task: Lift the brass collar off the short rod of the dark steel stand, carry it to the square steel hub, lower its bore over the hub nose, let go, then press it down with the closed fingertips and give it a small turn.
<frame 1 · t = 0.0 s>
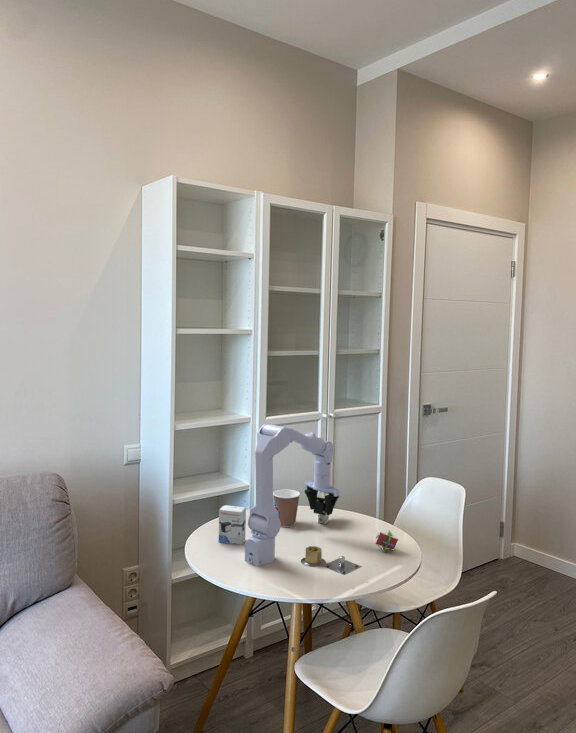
hand: (321, 511, 213), 10 cm above the table, tool pointing down, fingers open, 7 cm apart
stand: (313, 564, 192), on the table
coffee cup: (285, 524, 228), on the table
brass collar: (313, 561, 192), point 1 cm above the table, touching stand
geometric puzzle: (386, 551, 205), on the table
ink box: (231, 541, 210), on the table
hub: (341, 569, 189), on the table
pneumatic valve: (324, 523, 231), on the table
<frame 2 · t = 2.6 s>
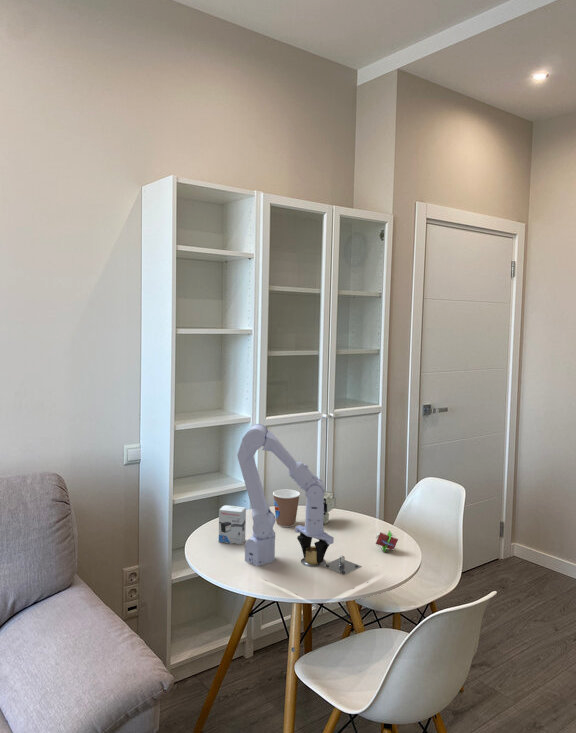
hand: (313, 559, 192), 2 cm above the table, tool pointing down, fingers closed on brass collar, 5 cm apart
brass collar: (313, 561, 192), point 1 cm above the table, touching gripper, stand
everything else where it was.
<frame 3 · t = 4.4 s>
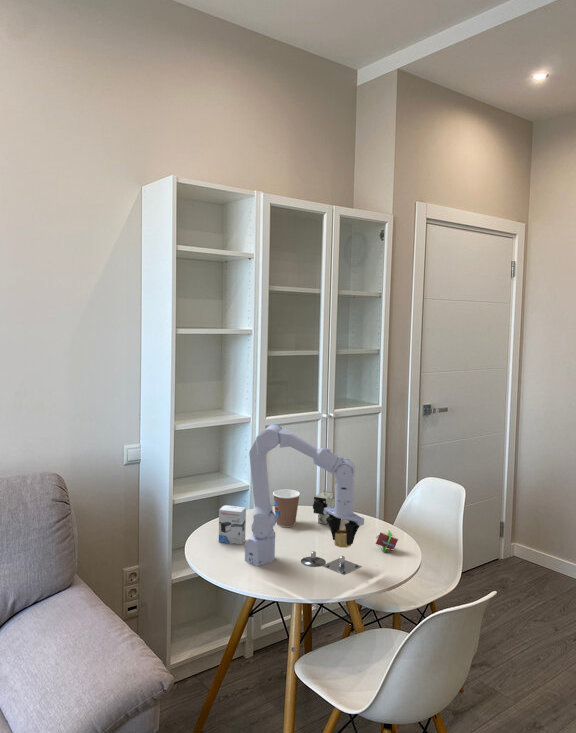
hand: (342, 541, 189), 9 cm above the table, tool pointing down, fingers closed on brass collar, 5 cm apart
brass collar: (342, 544, 189), point 8 cm above the table, touching gripper
everything else where it was.
when the fingers open (3 cm above the table, at t = 6.3 s): brass collar stays where it is, resting on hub.
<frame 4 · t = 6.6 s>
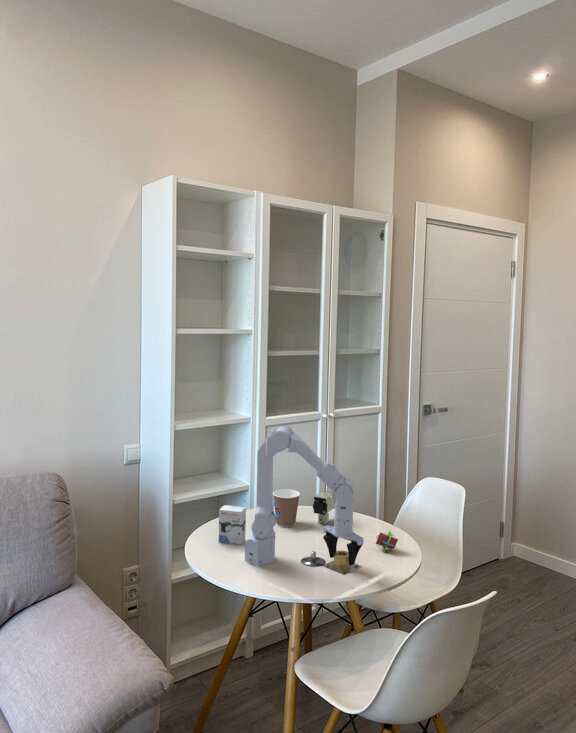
hand: (342, 560, 189), 3 cm above the table, tool pointing down, fingers open, 7 cm apart
brass collar: (341, 566, 189), point 1 cm above the table, touching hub
everything else where it was.
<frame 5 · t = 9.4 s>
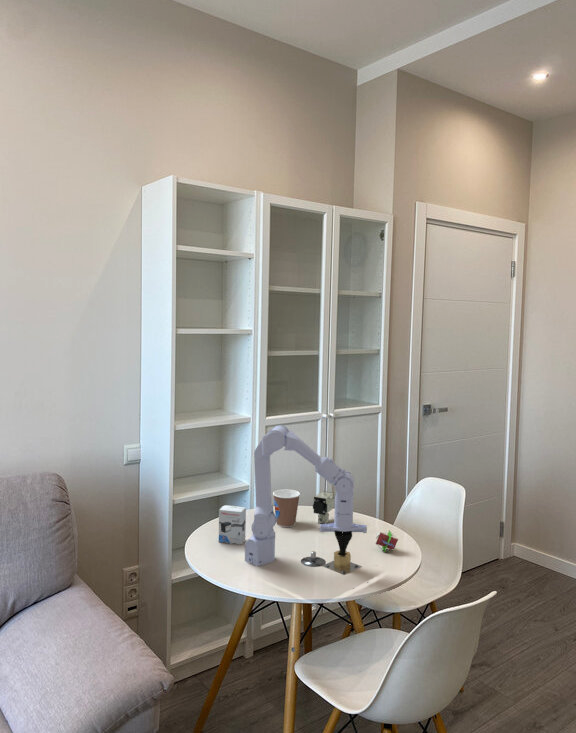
hand: (342, 554, 189), 5 cm above the table, tool pointing down, fingers closed
nothing on the table moved.
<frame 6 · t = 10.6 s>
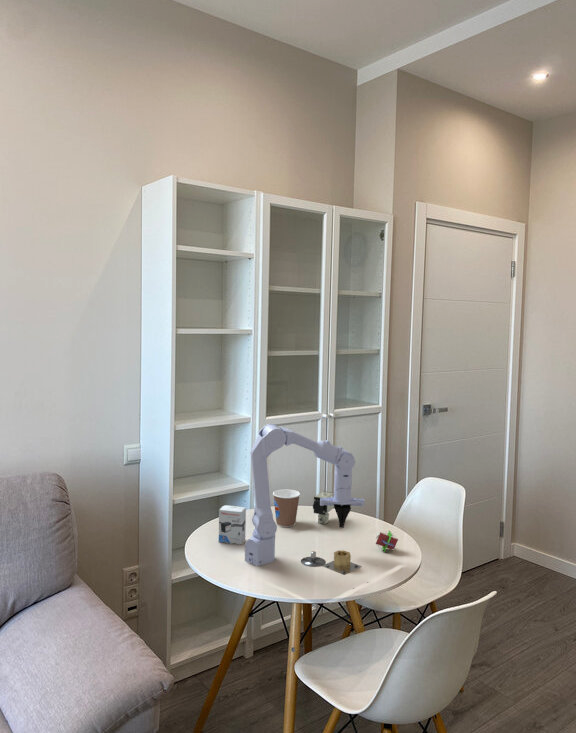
hand: (341, 526, 199), 10 cm above the table, tool pointing down, fingers closed
nothing on the table moved.
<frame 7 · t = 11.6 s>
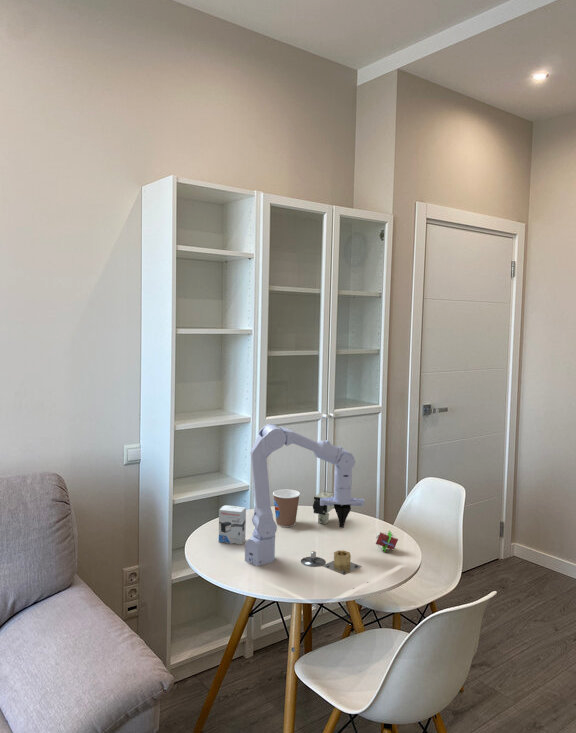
hand: (341, 526, 199), 10 cm above the table, tool pointing down, fingers closed
nothing on the table moved.
at the end: brass collar 0.1 cm off-centre on the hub, point 1.0 cm above the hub's base; brass collar tilted 0°; the gripper is holding nothing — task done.
